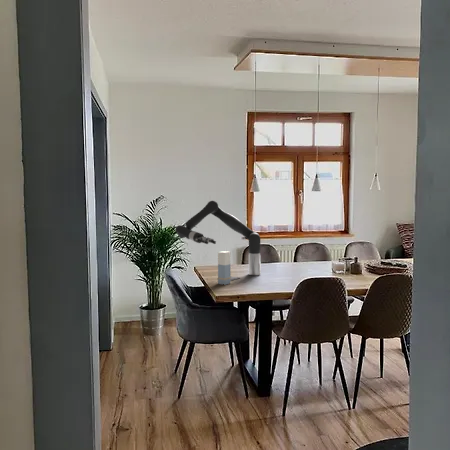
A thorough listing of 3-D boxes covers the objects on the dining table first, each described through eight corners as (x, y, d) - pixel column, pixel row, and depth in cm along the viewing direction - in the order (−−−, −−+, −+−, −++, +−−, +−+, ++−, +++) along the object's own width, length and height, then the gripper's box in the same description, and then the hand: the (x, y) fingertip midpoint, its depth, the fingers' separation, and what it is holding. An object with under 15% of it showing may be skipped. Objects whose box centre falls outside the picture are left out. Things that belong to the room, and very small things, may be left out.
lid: (223, 263, 340) (223, 251, 339) (230, 264, 336) (230, 251, 335) (217, 264, 335) (217, 252, 334) (224, 265, 331) (224, 252, 330)
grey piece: (223, 282, 341) (223, 263, 340) (230, 283, 337) (230, 264, 336) (217, 283, 336) (217, 264, 335) (224, 284, 332) (224, 265, 331)
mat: (227, 276, 363) (227, 275, 363) (239, 278, 355) (239, 277, 355) (217, 278, 353) (217, 278, 353) (229, 280, 346) (229, 280, 346)
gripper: (190, 232, 348) (206, 237, 338) (203, 232, 359) (219, 237, 348) (188, 241, 349) (204, 247, 339) (201, 241, 360) (217, 247, 350)
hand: (211, 242), depth 344 cm, fingers open, 8 cm apart
